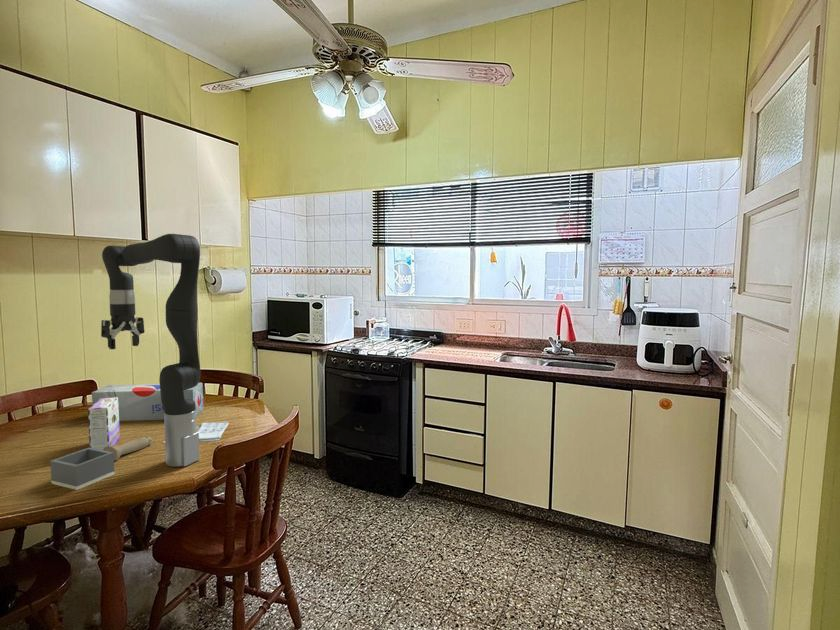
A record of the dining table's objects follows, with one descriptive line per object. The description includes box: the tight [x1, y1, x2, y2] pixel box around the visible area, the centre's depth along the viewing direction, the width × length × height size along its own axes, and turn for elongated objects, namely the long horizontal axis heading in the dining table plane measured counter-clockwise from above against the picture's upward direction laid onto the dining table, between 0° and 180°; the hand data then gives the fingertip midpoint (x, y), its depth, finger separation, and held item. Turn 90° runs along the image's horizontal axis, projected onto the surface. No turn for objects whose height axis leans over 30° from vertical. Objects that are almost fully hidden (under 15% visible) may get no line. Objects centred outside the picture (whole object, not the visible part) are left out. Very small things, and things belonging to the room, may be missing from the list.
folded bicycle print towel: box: [162, 422, 230, 445], centre depth 172 cm, size 19×20×2 cm
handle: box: [103, 435, 153, 462], centre depth 153 cm, size 5×6×15 cm
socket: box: [49, 447, 115, 491], centre depth 133 cm, size 11×11×7 cm
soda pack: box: [91, 382, 204, 422], centre depth 192 cm, size 41×13×14 cm, turn 98°
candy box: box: [87, 397, 121, 450], centre depth 157 cm, size 14×6×16 cm, turn 21°
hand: (124, 347), depth 157 cm, fingers open, 8 cm apart
